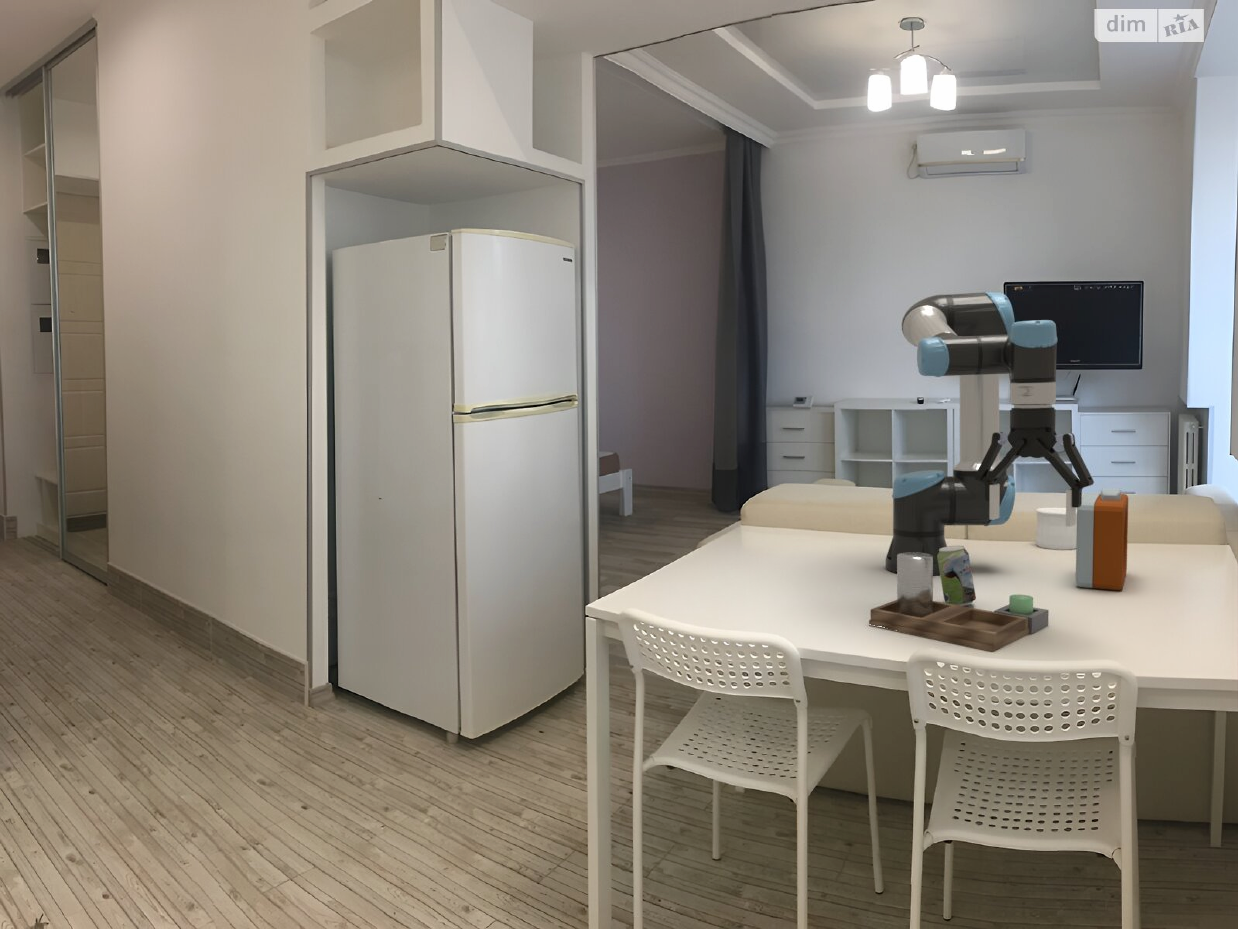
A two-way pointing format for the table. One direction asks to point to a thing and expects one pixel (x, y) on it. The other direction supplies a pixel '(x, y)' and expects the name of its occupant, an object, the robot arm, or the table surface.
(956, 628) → the wooden divided tray
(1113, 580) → the orange and grey box
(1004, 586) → the table surface
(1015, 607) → the button
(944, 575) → the beverage can
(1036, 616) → the button housing
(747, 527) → the table surface
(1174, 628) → the table surface
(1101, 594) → the table surface
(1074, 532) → the cup
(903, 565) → the seated billet
